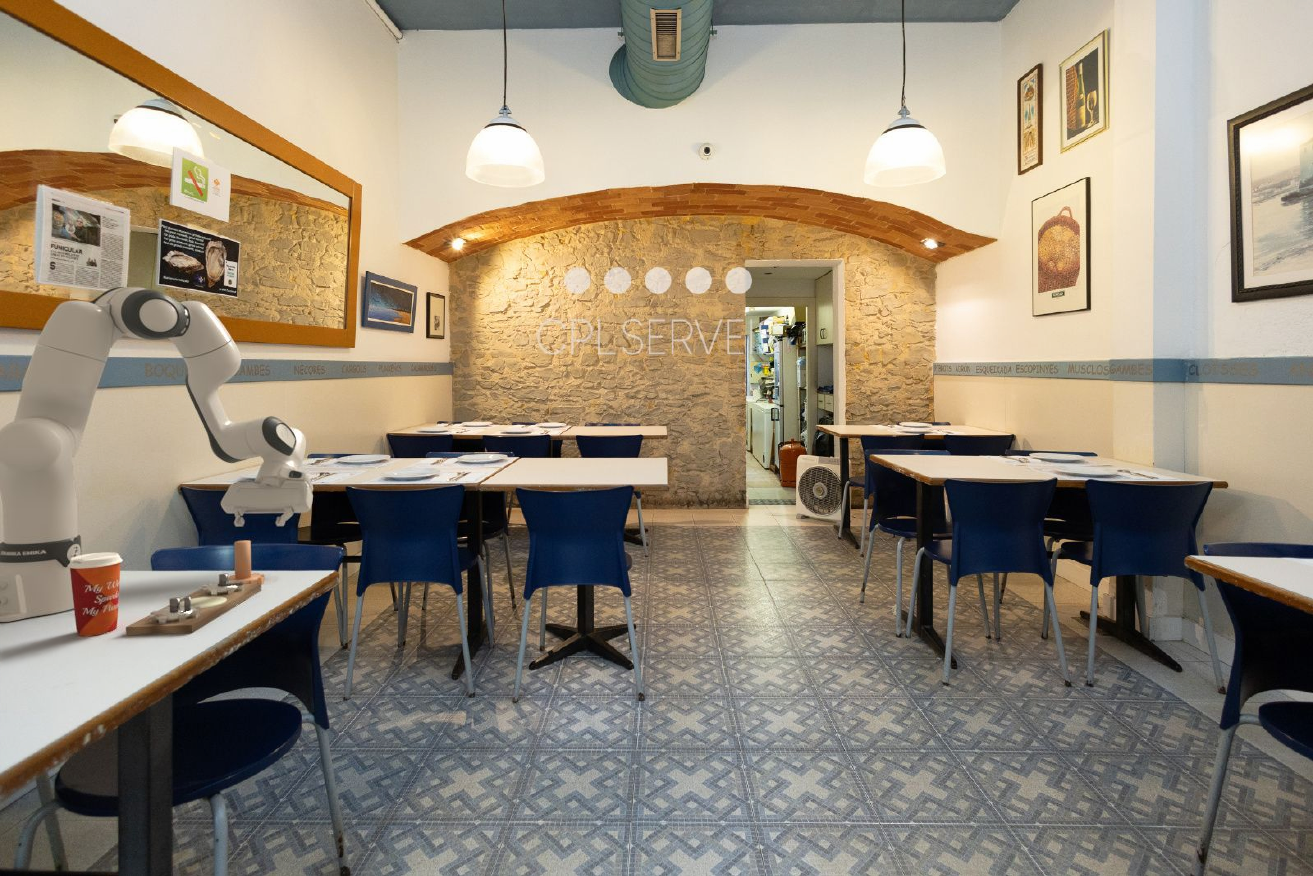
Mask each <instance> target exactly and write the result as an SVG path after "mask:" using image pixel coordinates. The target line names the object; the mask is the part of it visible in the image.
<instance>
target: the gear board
mask: <svg viewBox="0 0 1313 876" xmlns="http://www.w3.org/2000/svg"><path fill="white" fill-rule="evenodd" d="M259 591H260V592H261V591H262V584H245V587H244V590H243V591H237V592H234V594H229V595H228V594H223V595H218V596H211V595H202V588H200V589H198V590H196V591H194V592H192V593H190V594H189V595H187V596H185V597H191V606H193V607H194V606H200V613H199V616H198V617H196V618H190V619H186V621H183V622H170V623H167V624H159V623H158V622H154V623H150V622H149V615H147V616H146V617H143V618H141V619H138V620H137V621H135V622H133V623H131V624H130V625H127V626H125V635H126V636H141V635H142V636H143V635H175V634H176V635H177V634H179V635H180V634H193V633H194V632H196V631H198V630H199V629H201V628H203V627H204V626H206V625H208V624H209V623H211V622H212V621H214V620H216V619H217V618H219V617H220V616H222V615H224V614H225V613H227V612H228V611H230V610H232V609H234V608H235V607H237V606H238V605H237V604H239V605H240V604H241V602H242V603H243V602H245V601H246V600H248V599H250V598H252V597H253V596H254V594H255V595H256V594H258V593H259ZM257 592H258V593H257ZM252 595H253V596H252ZM251 596H252V597H251ZM249 597H250V598H249ZM244 600H245V601H244ZM183 605H184V597H182V598H180V606H183ZM236 605H237V606H236ZM165 607H170V604H169V605H167V606H165ZM165 607H163V608H161V609H160V610H162V609H164V608H165Z"/></svg>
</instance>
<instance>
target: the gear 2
mask: <svg viewBox="0 0 1313 876" xmlns="http://www.w3.org/2000/svg"><path fill="white" fill-rule="evenodd" d="M228 577H229V573H220V574H219V575H218V581H216V582H215V581H214V582H213V583H211V584H205V585H203V586H202V588H201V589H202V595H211V596H218V595H223V594H228V595H229V594H234V592H237V591H243V590H244V587H245V582H243V581H241V582H235V581H228Z"/></svg>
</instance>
